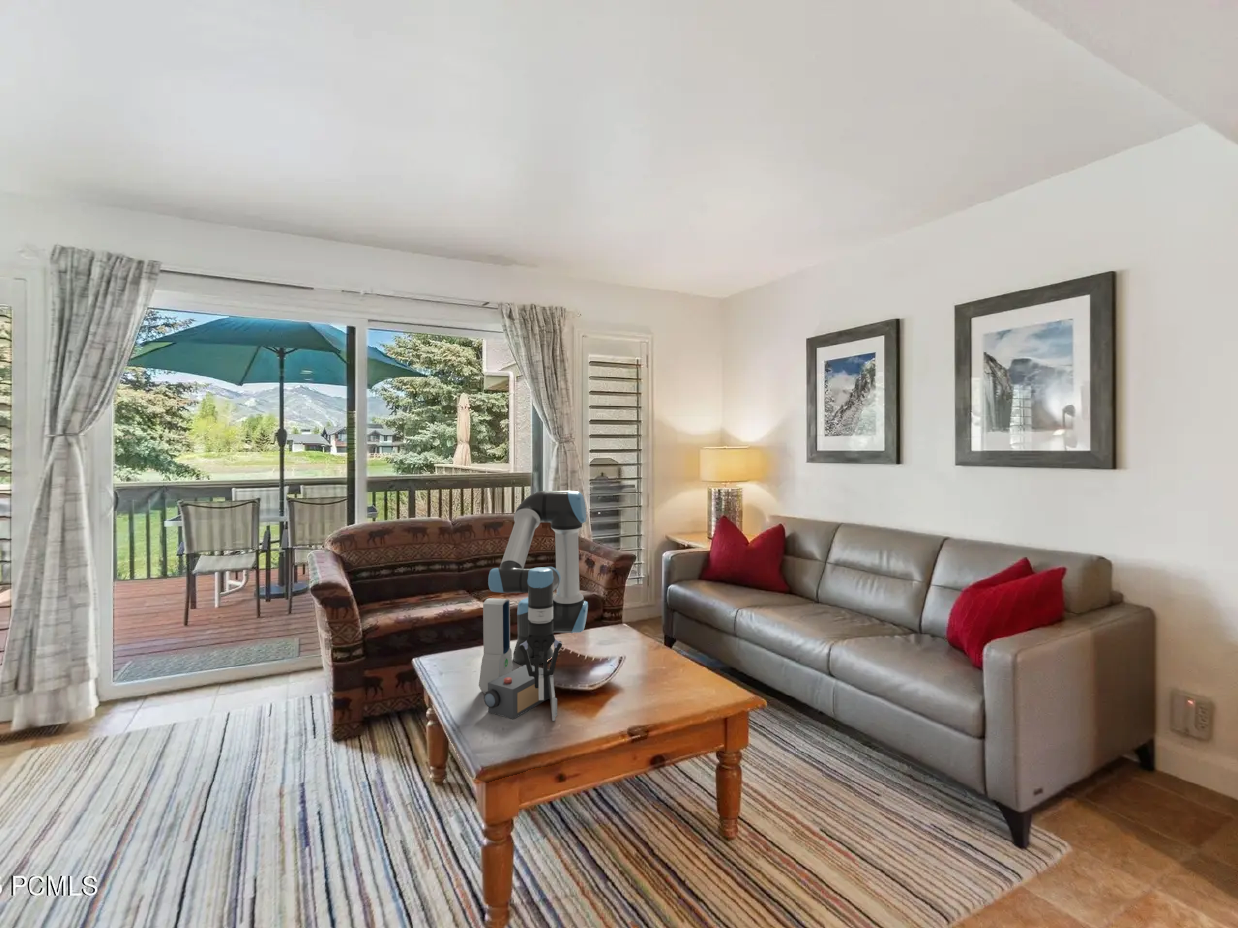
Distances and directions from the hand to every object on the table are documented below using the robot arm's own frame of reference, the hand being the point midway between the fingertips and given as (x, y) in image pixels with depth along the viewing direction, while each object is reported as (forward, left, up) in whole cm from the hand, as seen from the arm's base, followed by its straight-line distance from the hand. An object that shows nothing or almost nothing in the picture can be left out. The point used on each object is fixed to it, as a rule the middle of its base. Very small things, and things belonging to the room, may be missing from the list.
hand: (541, 698), depth 183 cm
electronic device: (-9, -27, -6) cm, 29 cm away
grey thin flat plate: (-6, 0, -6) cm, 8 cm away
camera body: (-3, -11, -6) cm, 13 cm away
